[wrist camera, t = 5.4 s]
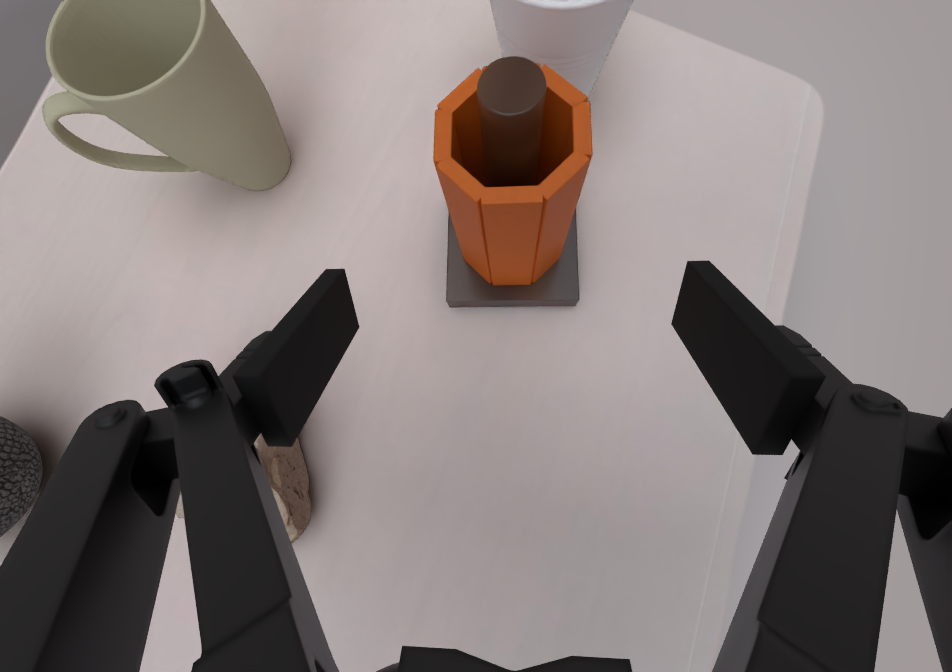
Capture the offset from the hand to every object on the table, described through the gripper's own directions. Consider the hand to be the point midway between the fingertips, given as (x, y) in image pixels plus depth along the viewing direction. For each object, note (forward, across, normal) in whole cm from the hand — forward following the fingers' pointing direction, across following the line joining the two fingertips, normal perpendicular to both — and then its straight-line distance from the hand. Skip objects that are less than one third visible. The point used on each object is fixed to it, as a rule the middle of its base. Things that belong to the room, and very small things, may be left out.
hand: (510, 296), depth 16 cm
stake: (+14, 0, -4) cm, 15 cm away
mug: (+19, -21, +1) cm, 28 cm away
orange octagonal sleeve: (+13, 0, -3) cm, 13 cm away
